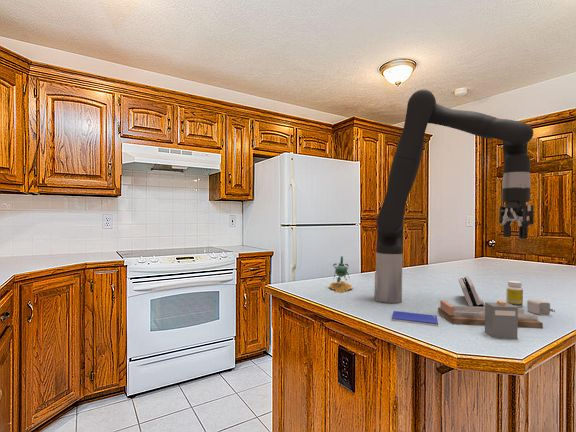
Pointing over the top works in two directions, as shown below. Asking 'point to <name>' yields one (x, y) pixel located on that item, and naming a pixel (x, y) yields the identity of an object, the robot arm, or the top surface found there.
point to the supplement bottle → (514, 293)
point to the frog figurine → (340, 271)
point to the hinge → (470, 292)
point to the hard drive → (415, 318)
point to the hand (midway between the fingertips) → (514, 237)
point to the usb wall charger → (539, 307)
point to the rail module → (501, 320)
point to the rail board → (481, 315)
